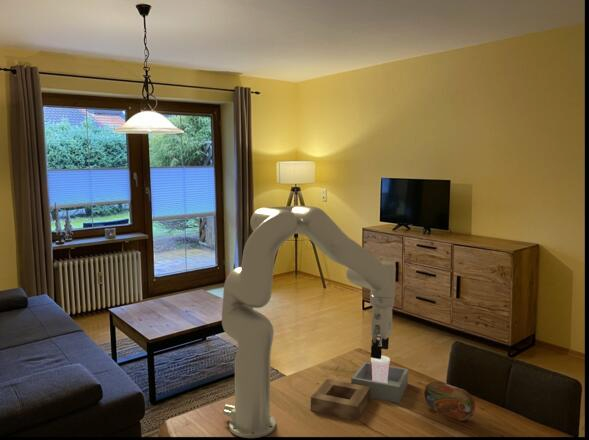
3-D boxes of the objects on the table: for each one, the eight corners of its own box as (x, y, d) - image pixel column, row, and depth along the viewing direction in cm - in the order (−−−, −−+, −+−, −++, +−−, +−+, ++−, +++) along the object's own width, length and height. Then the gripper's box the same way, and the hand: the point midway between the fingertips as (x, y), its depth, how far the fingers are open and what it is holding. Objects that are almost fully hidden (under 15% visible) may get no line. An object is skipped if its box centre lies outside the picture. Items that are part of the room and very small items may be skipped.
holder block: (310, 410, 138) (310, 397, 138) (326, 391, 151) (327, 378, 151) (357, 420, 133) (357, 406, 132) (370, 399, 145) (370, 387, 145)
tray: (351, 393, 149) (351, 378, 149) (363, 375, 163) (364, 361, 163) (398, 402, 143) (399, 387, 143) (408, 383, 157) (408, 369, 157)
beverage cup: (366, 386, 153) (367, 343, 152) (376, 380, 157) (376, 338, 156) (383, 391, 149) (384, 347, 148) (392, 385, 153) (393, 342, 152)
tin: (423, 406, 142) (424, 378, 141) (429, 403, 144) (430, 376, 143) (470, 426, 130) (471, 396, 130) (476, 422, 133) (477, 393, 132)
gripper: (387, 308, 141) (385, 364, 143) (399, 296, 157) (397, 347, 158) (363, 305, 144) (360, 360, 146) (377, 293, 160) (374, 343, 161)
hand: (379, 353), depth 152 cm, fingers open, 9 cm apart
